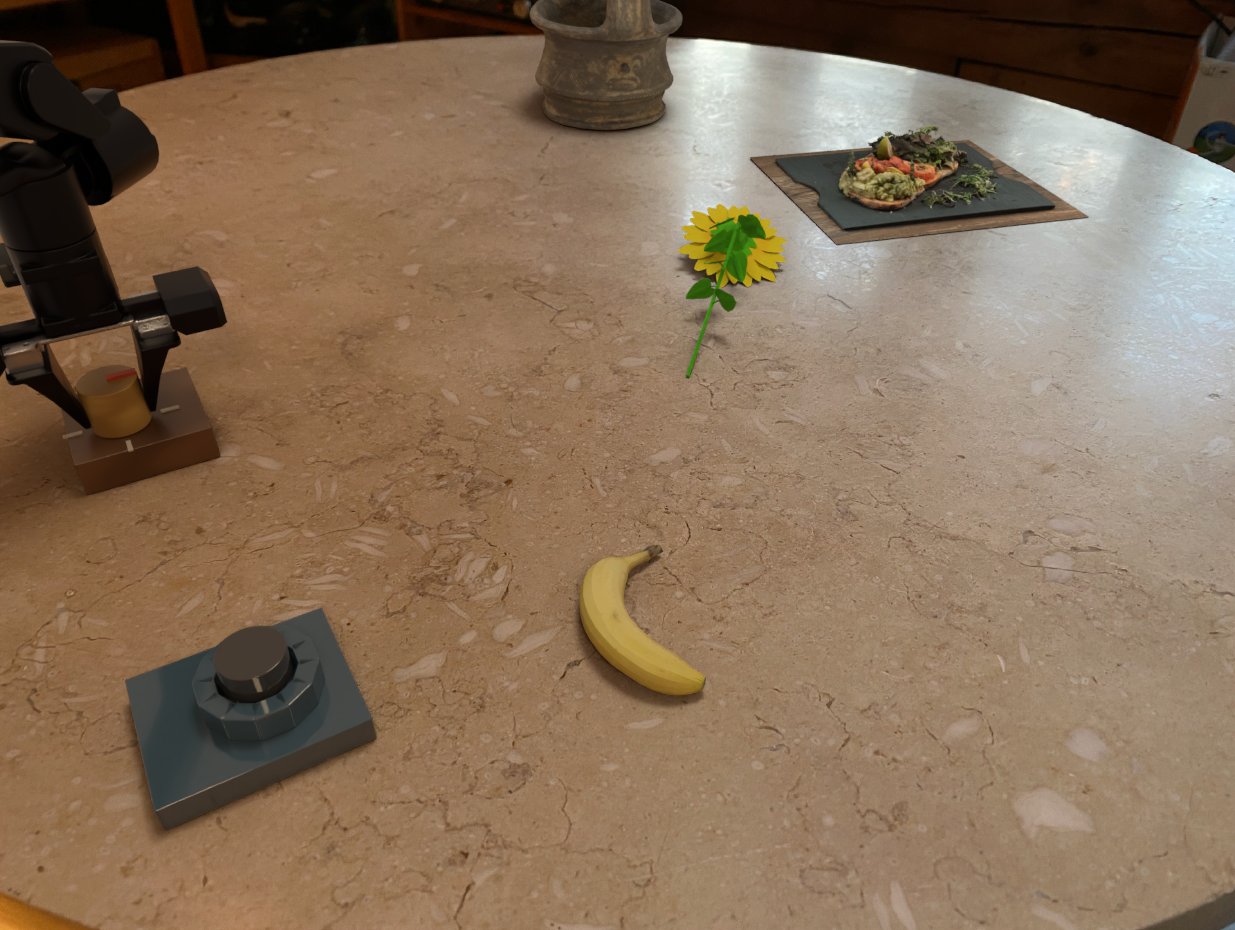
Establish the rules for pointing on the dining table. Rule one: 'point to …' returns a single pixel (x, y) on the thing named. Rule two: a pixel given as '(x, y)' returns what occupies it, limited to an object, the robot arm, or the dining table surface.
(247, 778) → the knob base
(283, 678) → the dark rotary knob
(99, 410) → the knob
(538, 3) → the clay pot
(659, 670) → the fruit
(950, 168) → the plated dish
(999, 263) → the dining table surface
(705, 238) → the flower
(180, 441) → the panel
